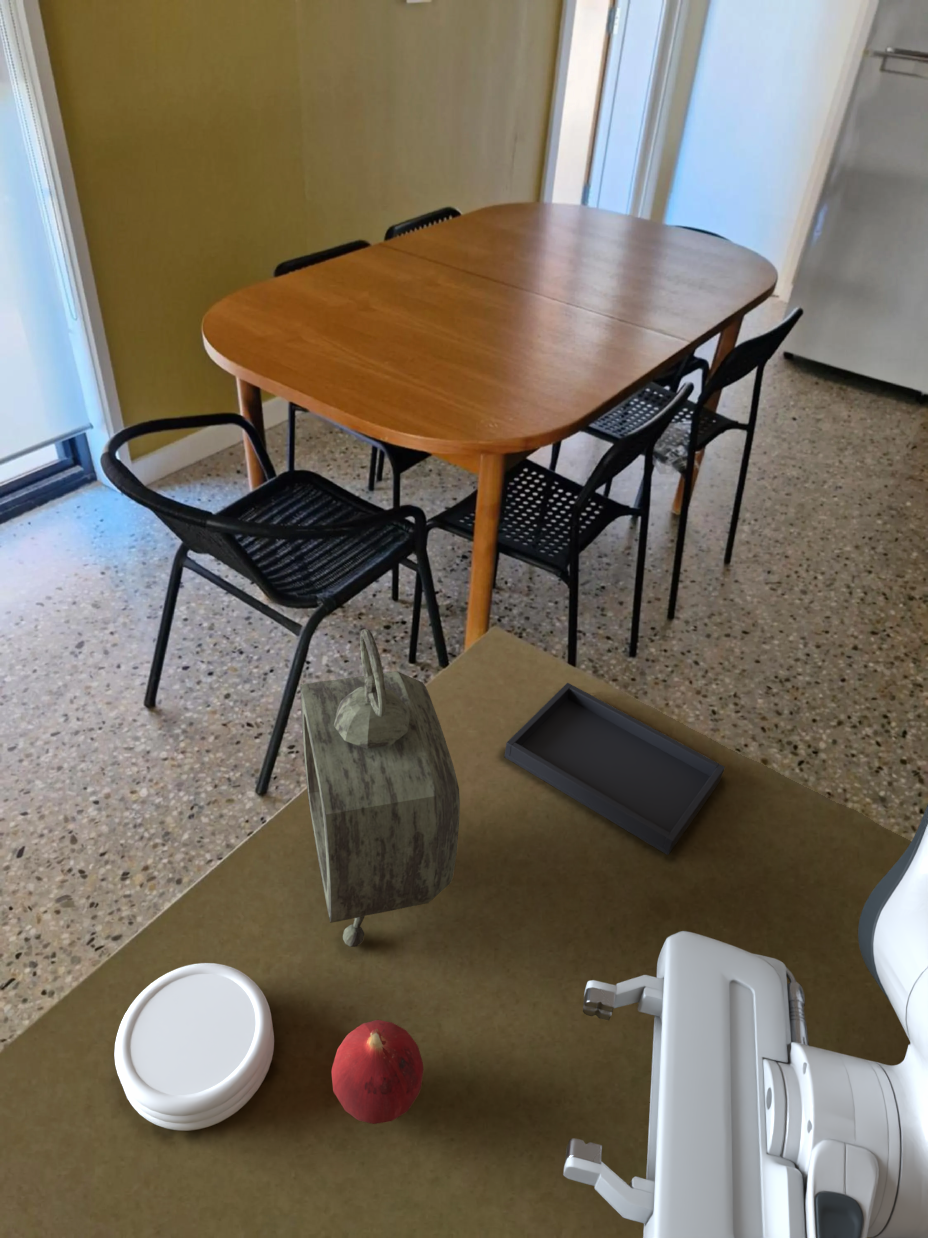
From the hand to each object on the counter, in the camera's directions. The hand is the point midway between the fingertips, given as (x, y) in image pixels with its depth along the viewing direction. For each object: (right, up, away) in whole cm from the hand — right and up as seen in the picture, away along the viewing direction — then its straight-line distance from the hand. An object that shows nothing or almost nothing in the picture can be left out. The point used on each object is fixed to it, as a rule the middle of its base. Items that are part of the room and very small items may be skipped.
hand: (576, 1071), depth 52 cm
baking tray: (+7, +13, +31) cm, 34 cm away
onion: (-12, -5, +7) cm, 15 cm away
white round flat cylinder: (-25, -3, +8) cm, 26 cm away
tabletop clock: (-14, +5, +20) cm, 25 cm away
